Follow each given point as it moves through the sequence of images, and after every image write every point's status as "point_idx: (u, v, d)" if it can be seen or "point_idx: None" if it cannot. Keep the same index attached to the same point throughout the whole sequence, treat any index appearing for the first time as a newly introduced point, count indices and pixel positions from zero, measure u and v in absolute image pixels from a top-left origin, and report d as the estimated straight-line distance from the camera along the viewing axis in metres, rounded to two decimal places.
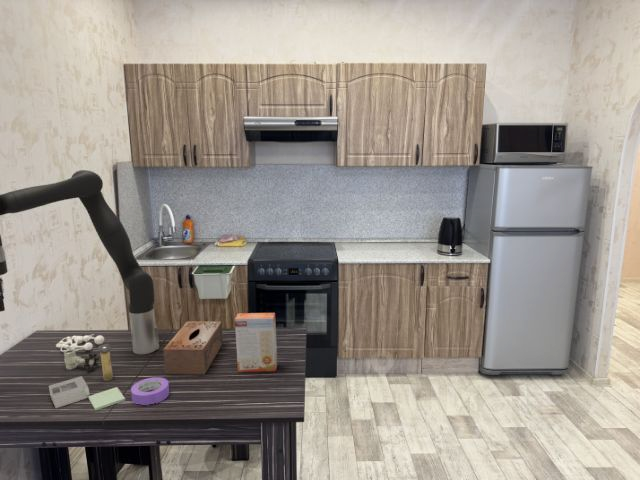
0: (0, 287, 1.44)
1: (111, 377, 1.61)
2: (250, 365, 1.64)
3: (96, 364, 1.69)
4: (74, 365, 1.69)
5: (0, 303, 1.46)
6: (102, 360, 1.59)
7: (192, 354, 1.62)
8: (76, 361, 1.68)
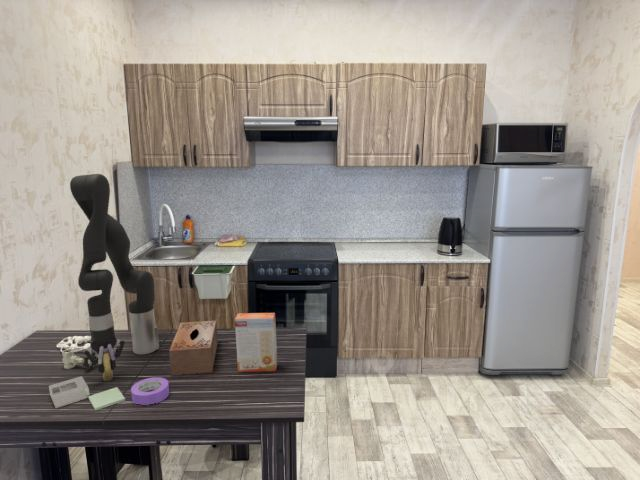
0: None
1: (111, 377, 1.61)
2: (250, 365, 1.64)
3: None
4: (72, 364, 1.70)
5: None
6: (102, 360, 1.59)
7: (199, 353, 1.63)
8: (74, 360, 1.68)
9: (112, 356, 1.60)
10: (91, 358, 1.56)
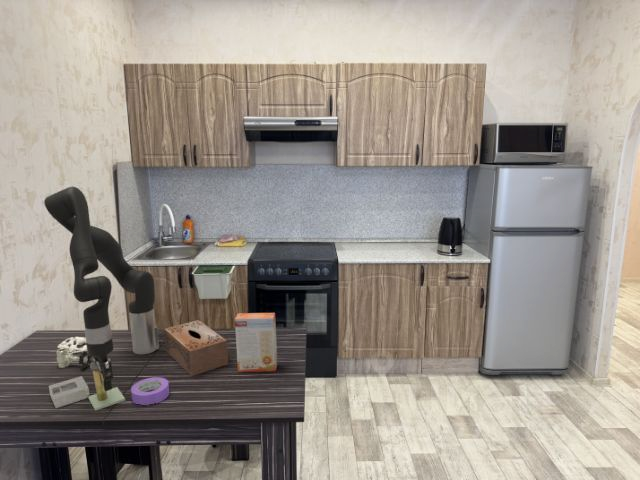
0: None
1: None
2: (250, 365, 1.64)
3: (90, 361, 1.71)
4: (67, 363, 1.71)
5: None
6: (101, 377, 1.45)
7: (217, 348, 1.67)
8: (69, 359, 1.69)
9: None
10: (111, 371, 1.42)
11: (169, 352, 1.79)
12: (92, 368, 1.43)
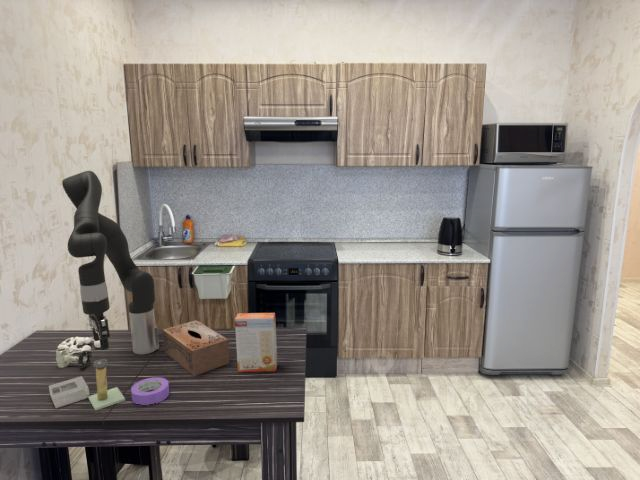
0: None
1: None
2: (250, 365, 1.64)
3: (89, 361, 1.72)
4: (66, 363, 1.71)
5: None
6: (103, 376, 1.46)
7: (218, 347, 1.68)
8: (69, 359, 1.69)
9: None
10: None
11: (168, 353, 1.78)
12: (96, 366, 1.44)
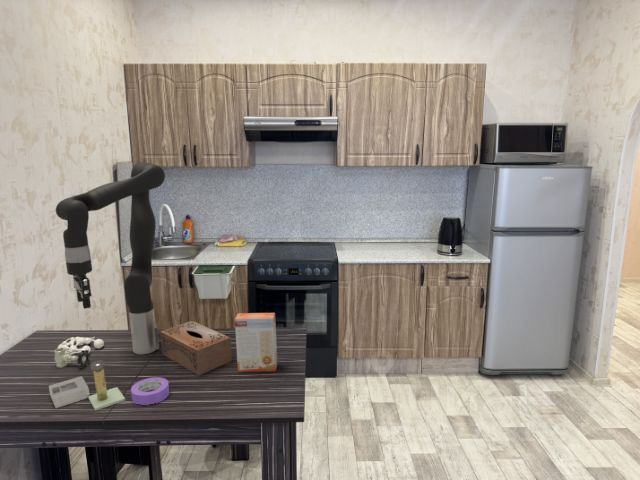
0: None
1: None
2: (250, 365, 1.64)
3: (88, 360, 1.72)
4: (65, 363, 1.71)
5: (79, 293, 1.59)
6: (102, 377, 1.45)
7: (221, 346, 1.69)
8: (68, 359, 1.70)
9: None
10: (89, 289, 1.50)
11: (167, 354, 1.77)
12: (93, 368, 1.43)
